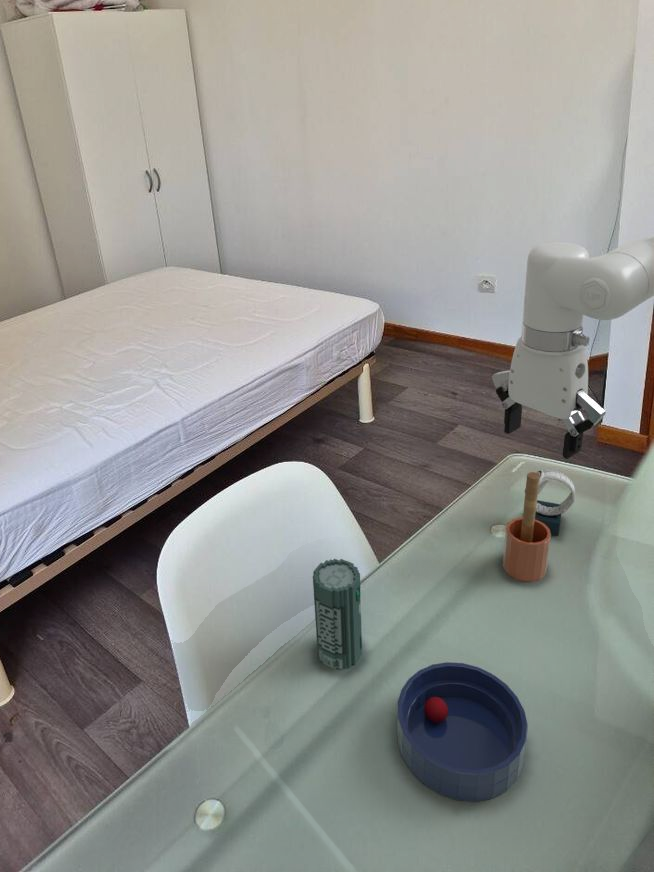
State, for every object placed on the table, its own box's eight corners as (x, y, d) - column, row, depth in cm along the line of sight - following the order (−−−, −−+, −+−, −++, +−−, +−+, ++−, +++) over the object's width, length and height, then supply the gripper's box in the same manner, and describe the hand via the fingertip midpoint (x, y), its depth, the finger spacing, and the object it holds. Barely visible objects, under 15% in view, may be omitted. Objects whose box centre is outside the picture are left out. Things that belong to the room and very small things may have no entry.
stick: (531, 567, 112) (542, 475, 104) (524, 572, 111) (535, 480, 103) (521, 561, 113) (531, 470, 105) (515, 566, 112) (524, 475, 104)
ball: (441, 689, 88) (432, 696, 90) (424, 700, 87) (416, 707, 89) (456, 711, 87) (447, 718, 89) (439, 723, 85) (430, 730, 88)
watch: (523, 511, 125) (528, 461, 120) (571, 520, 122) (578, 469, 117) (519, 530, 120) (525, 479, 116) (569, 540, 117) (576, 487, 112)
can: (368, 648, 100) (366, 568, 93) (348, 678, 96) (345, 597, 89) (332, 631, 103) (328, 553, 97) (311, 660, 99) (305, 580, 92)
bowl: (549, 750, 84) (553, 719, 82) (468, 832, 76) (471, 802, 74) (451, 671, 95) (452, 643, 93) (372, 737, 87) (371, 707, 85)
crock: (553, 570, 111) (559, 531, 108) (529, 590, 108) (534, 550, 104) (518, 550, 116) (522, 512, 113) (494, 568, 113) (497, 529, 109)
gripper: (627, 343, 89) (610, 455, 97) (513, 312, 102) (506, 413, 109) (595, 361, 85) (580, 476, 93) (481, 326, 98) (476, 430, 105)
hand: (540, 442), depth 101 cm, fingers open, 9 cm apart
